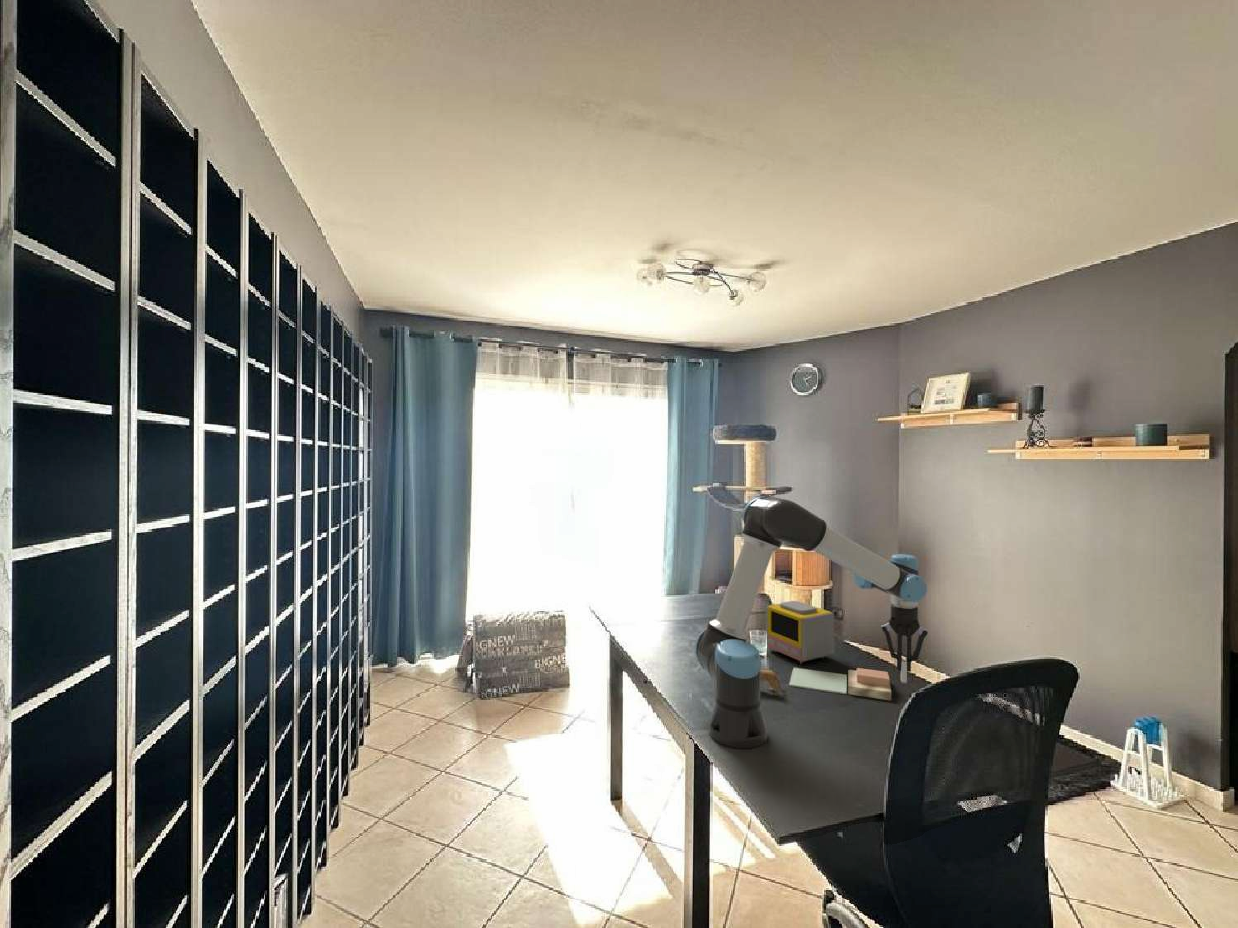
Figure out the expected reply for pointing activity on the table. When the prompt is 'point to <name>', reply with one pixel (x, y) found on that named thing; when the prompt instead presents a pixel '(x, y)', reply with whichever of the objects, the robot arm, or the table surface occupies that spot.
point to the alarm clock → (800, 630)
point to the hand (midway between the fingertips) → (903, 680)
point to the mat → (819, 680)
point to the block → (872, 677)
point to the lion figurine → (771, 680)
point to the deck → (867, 688)
